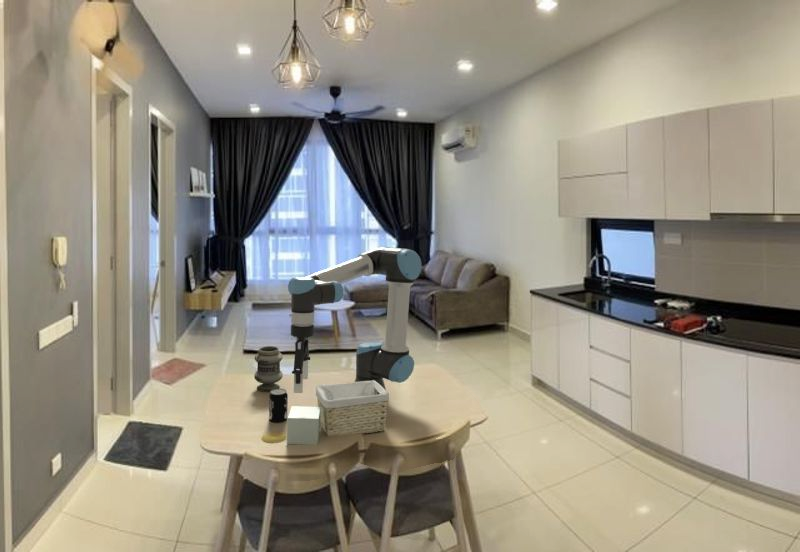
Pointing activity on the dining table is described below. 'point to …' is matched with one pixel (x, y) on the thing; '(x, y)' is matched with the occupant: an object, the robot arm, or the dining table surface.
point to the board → (274, 437)
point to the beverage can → (278, 405)
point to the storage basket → (352, 407)
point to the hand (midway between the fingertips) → (301, 385)
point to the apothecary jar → (268, 368)
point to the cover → (303, 425)
